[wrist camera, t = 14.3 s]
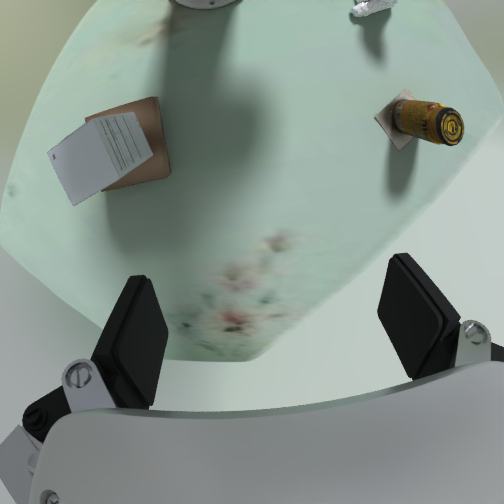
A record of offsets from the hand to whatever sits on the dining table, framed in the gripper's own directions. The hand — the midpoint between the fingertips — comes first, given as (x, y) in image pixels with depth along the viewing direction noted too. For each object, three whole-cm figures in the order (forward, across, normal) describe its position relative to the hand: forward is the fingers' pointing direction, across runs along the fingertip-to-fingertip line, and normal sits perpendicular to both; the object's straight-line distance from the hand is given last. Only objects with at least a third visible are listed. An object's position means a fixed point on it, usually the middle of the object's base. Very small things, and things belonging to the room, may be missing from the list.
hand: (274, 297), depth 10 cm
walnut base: (+33, +18, -4) cm, 37 cm away
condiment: (+33, -25, -6) cm, 42 cm away
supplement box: (+30, +18, -4) cm, 35 cm away
